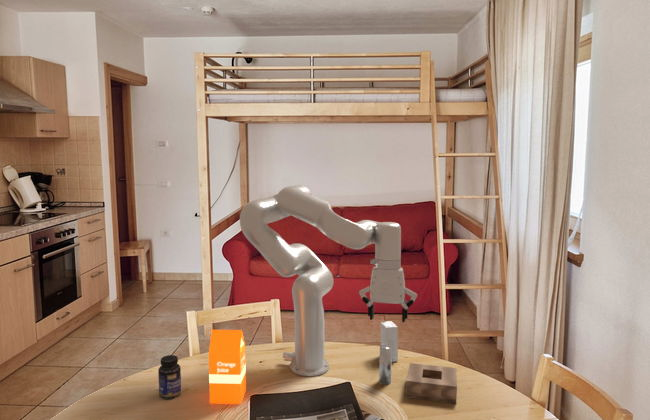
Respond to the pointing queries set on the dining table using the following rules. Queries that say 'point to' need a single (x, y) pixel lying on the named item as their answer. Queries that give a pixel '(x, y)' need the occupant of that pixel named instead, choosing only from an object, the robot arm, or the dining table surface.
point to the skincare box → (390, 337)
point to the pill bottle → (169, 377)
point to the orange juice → (227, 367)
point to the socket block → (432, 383)
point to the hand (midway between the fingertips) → (387, 319)
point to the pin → (385, 364)
